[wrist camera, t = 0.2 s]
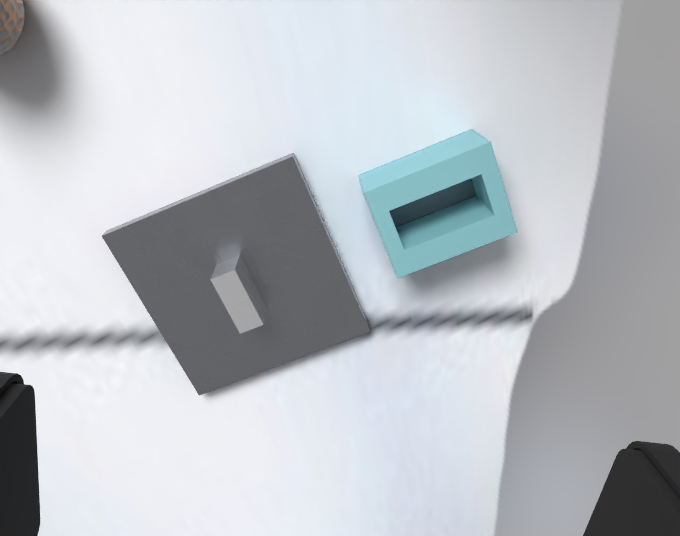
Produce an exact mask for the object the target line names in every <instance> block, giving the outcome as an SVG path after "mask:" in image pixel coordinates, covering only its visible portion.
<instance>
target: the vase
mask: <svg viewBox="0 0 680 536" xmlns="http://www.w3.org/2000/svg"><path fill="white" fill-rule="evenodd" d="M24 19H25V12H24V5H23V1H22V0H0V56H1V55H3V54H4V53H6V52H7V51H8V50H10V49H11V48H12V47H13V46H14V44H15V43H16V42H17V40H18V39H19V37H20V35H21V33H22V30H23V26H24Z"/></svg>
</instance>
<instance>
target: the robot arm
mask: <svg viewBox="0 0 680 536" xmlns="http://www.w3.org/2000/svg"><path fill="white" fill-rule="evenodd" d="M39 526H40V503H39V481H38V458H37V436H36V414H35V394H34V389H33V387H32V386H31V385H24V383H23V379H22V377H21V375H19V374H14V373H5V372H0V536H37V535H38V531H39ZM583 536H680V453H679V452H678V450H677V449H675V448H674V447H673V446H671V445H668V444H659V443H650V442H641V441H635V442H632V443H631V444H629V445H628V447H627V448H626V449H622V450H621V451H619V453H618V454H617V456H616V459H615V461H614V463H613V466H612V468H611V470H610V473H609V475H608V478H607V480H606V482H605V485H604V487H603V490H602V492H601V494H600V497H599V499H598V502H597V504H596V506H595V509H594V511H593V514H592V516H591V518H590V520H589V523H588V525H587V528H586V530H585V533H584V535H583Z"/></svg>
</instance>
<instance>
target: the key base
mask: <svg viewBox="0 0 680 536" xmlns="http://www.w3.org/2000/svg"><path fill="white" fill-rule="evenodd" d="M102 237H103V239H104V240H105V242H106V244H107V245H108V247H109V249H110V250H111V252H112V254H113V255H114V257H115V258H116V260H117V262H118V263H119V265H120V267H121V268H122V270H123V272H124V273H125V275H126V276H127V278H128V280H129V281H130V283H131V285H132V286H133V288H134V290H135V291H136V293H137V294H138V296H139V298H140V299H141V301H142V303H143V304H144V306H145V308H146V309H147V311H148V312H149V314H150V316H151V317H152V319H153V321H154V322H155V324H156V326H157V327H158V329H159V330H160V332H161V334H162V335H163V337H164V339H165V340H166V342H167V344H168V345H169V347H170V348H171V350H172V352H173V353H174V355H175V357H176V358H177V360H178V362H179V363H180V365H181V366H182V368H183V370H184V371H185V373H186V375H187V376H188V378H189V380H190V381H191V383H192V384H193V386H194V388H195V389H196V391H197V393H198V394H199V395H202V394H204V393H207V392H210V391H212V390H215V389H218V388H220V387H223V386H226V385H228V384H231V383H234V382H237V381H239V380H242V379H245V378H247V377H250V376H253V375H255V374H258V373H261V372H263V371H266V370H269V369H271V368H274V367H277V366H279V365H282V364H285V363H287V362H290V361H293V360H296V359H298V358H301V357H304V356H306V355H309V354H312V353H314V352H317V351H320V350H322V349H325V348H328V347H330V346H333V345H336V344H338V343H341V342H344V341H346V340H349V339H352V338H355V337H357V336H360V335H363V334H365V333H368V332H370V327H369V323H368V321H367V319H366V316H365V314H364V312H363V310H362V307H361V305H360V303H359V301H358V298H357V296H356V294H355V291H354V289H353V287H352V285H351V282H350V280H349V278H348V276H347V273H346V271H345V269H344V266H343V264H342V262H341V260H340V257H339V255H338V253H337V251H336V248H335V246H334V244H333V241H332V239H331V237H330V235H329V232H328V230H327V228H326V226H325V223H324V221H323V219H322V217H321V214H320V212H319V210H318V207H317V205H316V203H315V201H314V198H313V196H312V194H311V192H310V189H309V187H308V185H307V182H306V180H305V178H304V176H303V173H302V171H301V169H300V167H299V164H298V162H297V160H296V158H295V155H294V153H292V154H290V155H287V156H285V157H282V158H280V159H278V160H275V161H273V162H271V163H268V164H266V165H263V166H261V167H259V168H256V169H254V170H251V171H249V172H247V173H244V174H242V175H239V176H237V177H235V178H232V179H230V180H227V181H225V182H223V183H220V184H218V185H215V186H213V187H211V188H208V189H206V190H203V191H201V192H199V193H196V194H194V195H192V196H189V197H187V198H184V199H182V200H180V201H177V202H175V203H172V204H170V205H168V206H165V207H163V208H160V209H158V210H156V211H153V212H151V213H148V214H146V215H144V216H141V217H139V218H136V219H134V220H132V221H129V222H127V223H124V224H122V225H120V226H117V227H115V228H112V229H110V230H108V231H106V232H105V233H104V234H103V235H102Z"/></svg>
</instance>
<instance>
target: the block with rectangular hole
mask: <svg viewBox="0 0 680 536" xmlns="http://www.w3.org/2000/svg"><path fill="white" fill-rule="evenodd" d="M358 176H359V179H360V183H361V187H362V190H363V194H364V196H365V199H366V201H367V204H368V206H369V209H370V211H371V214H372V216H373V219H374V221H375V223H376V226H377V228H378V231H379V233H380V236H381V238H382V241H383V243H384V246H385V248H386V251H387V253H388V256H389V258H390V261H391V263H392V266H393V268H394V271H395V273H396V276H397V278H400V277H402V276H405V275H407V274H410V273H413V272H415V271H418V270H421V269H423V268H426V267H428V266H431V265H434V264H436V263H439V262H441V261H444V260H447V259H449V258H452V257H455V256H457V255H460V254H462V253H465V252H468V251H470V250H473V249H476V248H478V247H481V246H483V245H486V244H489V243H491V242H494V241H496V240H499V239H502V238H504V237H507V236H510V235H512V234H515V233H517V228H516V225H515V222H514V218H513V215H512V212H511V208H510V205H509V202H508V198H507V195H506V192H505V188H504V185H503V182H502V178H501V175H500V172H499V168H498V165H497V162H496V158H495V155H494V151H493V148H492V145H491V142H490V141H489V140H487V139H486V138H484V137H483V136H481V135H480V134H479V133H477V132H476V131H474V130H473V129H471V130H469V131H466V132H464V133H461V134H459V135H456V136H454V137H452V138H449V139H447V140H444V141H442V142H439V143H437V144H434V145H432V146H429V147H427V148H424V149H422V150H420V151H417V152H415V153H412V154H410V155H407V156H405V157H402V158H400V159H397V160H395V161H393V162H390V163H388V164H385V165H383V166H380V167H378V168H375V169H373V170H370V171H368V172H366V173H363V174H361V175H358ZM468 179H471V180H472V183H473V187H474V190H475V193H476V196H474V197H472V198H469V199H467V200H464V201H462V202H459V203H457V204H454V205H452V206H449V207H446V208H444V209H441V210H439V211H436V212H434V213H431V214H429V215H426V216H424V217H421V218H419V219H416V220H413V221H411V222H408V223H406V224H403V225H401V226H398V227H396V228H395V225H394V222H393V220H392V217H391V215H390V212H389V211H390V210H393V209H395V208H398V207H400V206H403V205H405V204H408V203H410V202H413V201H415V200H418V199H420V198H423V197H425V196H428V195H430V194H433V193H435V192H438V191H440V190H443V189H446V188H448V187H451V186H453V185H456V184H458V183H461V182H463V181H466V180H468Z"/></svg>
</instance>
